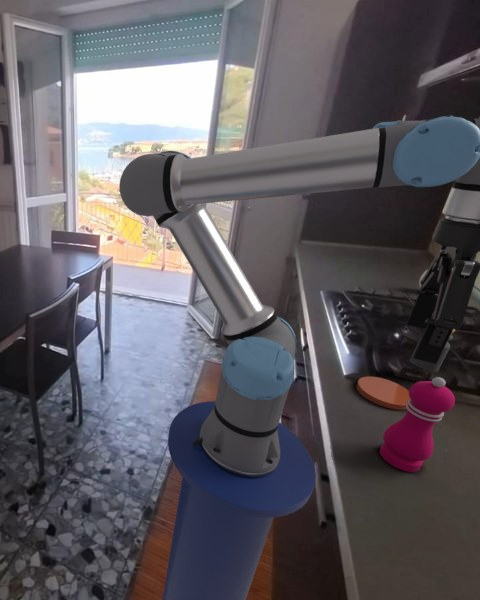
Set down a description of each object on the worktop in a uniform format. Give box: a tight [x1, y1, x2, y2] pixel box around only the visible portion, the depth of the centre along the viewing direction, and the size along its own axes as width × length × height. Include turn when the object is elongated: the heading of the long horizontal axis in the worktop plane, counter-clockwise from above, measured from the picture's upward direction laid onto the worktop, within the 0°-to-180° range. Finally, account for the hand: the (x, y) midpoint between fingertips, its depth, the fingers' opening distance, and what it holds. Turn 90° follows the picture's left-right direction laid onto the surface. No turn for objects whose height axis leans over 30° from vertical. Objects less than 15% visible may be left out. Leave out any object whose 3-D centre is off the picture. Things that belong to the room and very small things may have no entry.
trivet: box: [356, 376, 410, 411], centre depth 89 cm, size 11×11×2 cm
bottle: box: [409, 329, 456, 373], centre depth 93 cm, size 6×6×15 cm
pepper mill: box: [379, 376, 456, 473], centre depth 67 cm, size 7×7×20 cm
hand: (419, 342), depth 62 cm, fingers open, 13 cm apart
